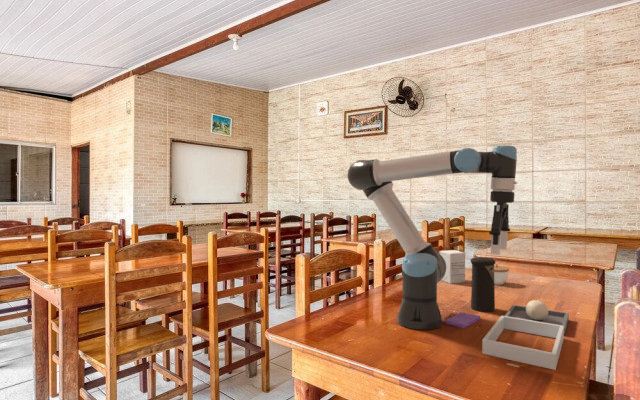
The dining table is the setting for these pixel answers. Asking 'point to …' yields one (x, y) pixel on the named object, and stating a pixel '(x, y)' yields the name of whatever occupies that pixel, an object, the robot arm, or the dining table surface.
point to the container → (483, 284)
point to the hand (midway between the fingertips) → (498, 251)
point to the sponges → (462, 320)
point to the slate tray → (551, 318)
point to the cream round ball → (536, 310)
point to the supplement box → (454, 266)
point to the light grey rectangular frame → (519, 352)
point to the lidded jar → (500, 274)
